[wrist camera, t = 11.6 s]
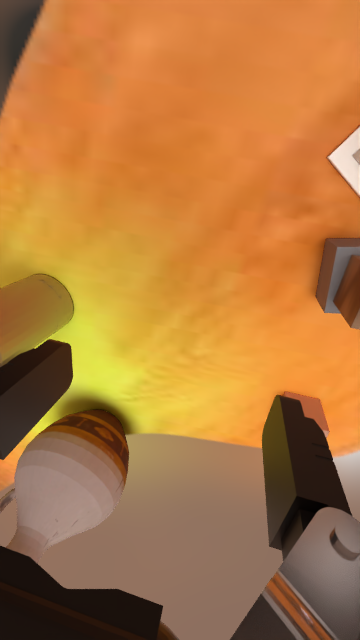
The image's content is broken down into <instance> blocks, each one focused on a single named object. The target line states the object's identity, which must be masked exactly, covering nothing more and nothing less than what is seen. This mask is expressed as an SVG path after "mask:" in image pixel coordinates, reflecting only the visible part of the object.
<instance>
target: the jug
mask: <svg viewBox="0 0 360 640" xmlns="http://www.w3.org/2000/svg"><path fill="white" fill-rule="evenodd" d="M128 460H129V450H128V445H127V441H126V437H125V434H124V431H123V428H122V425H121V423H120V421H119V420H118V419H117V418H116V417H115V416H114V415H112V414H111V413H109V412H107V411H104V410H99V409H96V410H89V411H83V412H78V413H74V414H70V415H67V416H65V417H63V418H62V419H60V420H58V421H56V422H54V423H53V424H51V425H50V426H48V427H47V428H46V429H44V430H43V431H42V432H40V433H39V434H38V435H37V436H36V437H35V438H34V439H33V440H32V441H31V442H30V443H29V444H28V445H27V447H26V448H25V450H24V452H23V453H22V455H21V457H20V458H19V460H18V464H17V468H16V473H15V477H14V478H15V488H14V489H12V490H11V491H9V492H8V493H7V494H6V495H5V496H4V497H2V498H1V499H0V513H1V512H2V511H3V509H4V508H5V507H6V505H8V504H9V502H11V501H12V500H13V499H14V498H16V503H17V530H16V533H15V535H14V537H13V539H12V540H11V542H10V543H9V545H8V546H7V547H6V548H8V549H11V550H13V551H16V552H19V553H21V554H24V555H27V556H29V557H31V558H32V559H33V560H34V561H35V562H36V563H38V561H39V559H40V558H41V556H42V555H43V553H44V552H45V551H46V550H47V549H48V548H49V547H50V546H52V545H54V544H56V543H58V542H61V541H63V540H65V539H67V538H69V537H71V536H73V535H76V534H79V533H81V532H84V531H86V530H89V529H91V528H93V527H95V526H97V525H98V524H100V523H101V522H102V521H103V520H104V519H106V518H107V517H108V516H109V515H110V514H111V513H112V511H113V510H114V508H115V507H116V505H117V504H118V502H119V501H120V498H121V495H122V492H123V489H124V486H125V483H126V478H127V472H128Z"/></svg>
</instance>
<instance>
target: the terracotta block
mask: <svg viewBox="0 0 360 640" xmlns="http://www.w3.org/2000/svg"><path fill="white" fill-rule="evenodd" d="M283 396H285V397H289V398H293V399H297V400H300V402H301V405H302V408H303V412H304V416H305V417H308V418H312V419H314V420H315V421H316V423H317V424H318V425H319V427H320V428H321V429H322V431H323V432H324V434H325V437H326V438H327V436H328V434H329V432H330V431H329V428H328V425H327V421H326V418H325V415H324V411H323V408H322V405H321V401H320V399H316V398H312V397H307V396H303V395H299V394H294V393H290V392H286V391H285V392H284V395H283Z"/></svg>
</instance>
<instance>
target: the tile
mask: <svg viewBox="0 0 360 640" xmlns="http://www.w3.org/2000/svg"><path fill="white" fill-rule="evenodd" d="M327 159H328V160H329V161H330V162H331V164H332V165H333V166H334V167H335V168H336V170H337V171H338V172H339V173H340V175H341V176H342V177H343V178H344V179H345V181H346V182H347V183H348V184H349V185H350V187H351V188H352V189H353V190H354V191H355V193H356V194H357V195H358V196H359V197H360V126H359V127H358V128H357V129H356V130H355V131H354V132H353V133H352V134H351V135H350V136H349V137H348V138H347V139H346V140H345V141H344V142H343V143H341V144H340V145H339V146H338V147H337V148H336V149H335V150H334V151H333V152H332V153H331V154H330V155H329V156H328V157H327Z"/></svg>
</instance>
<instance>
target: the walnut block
mask: <svg viewBox="0 0 360 640" xmlns="http://www.w3.org/2000/svg"><path fill="white" fill-rule="evenodd" d="M333 303H334V304H335V306H336V307H337V308H338V310H339V311H340V313H341V314H342V316H343V317H344V319H345V320H346V322H347V323H348V324H349V326H350V327H351V328H355V329H360V256H358V255H351V258H350V260H349V263H348V265H347V268H346V270H345V273H344V275H343V278H342V280H341V283H340V285H339V288H338V290H337V292H336V295H335V297H334V300H333Z"/></svg>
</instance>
